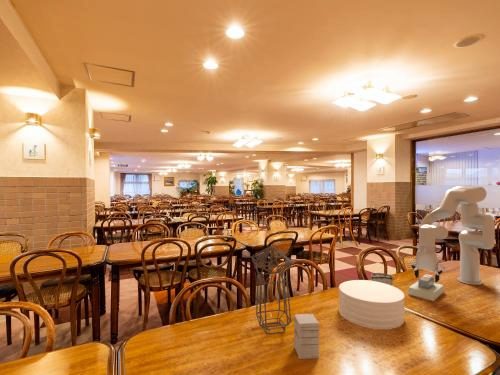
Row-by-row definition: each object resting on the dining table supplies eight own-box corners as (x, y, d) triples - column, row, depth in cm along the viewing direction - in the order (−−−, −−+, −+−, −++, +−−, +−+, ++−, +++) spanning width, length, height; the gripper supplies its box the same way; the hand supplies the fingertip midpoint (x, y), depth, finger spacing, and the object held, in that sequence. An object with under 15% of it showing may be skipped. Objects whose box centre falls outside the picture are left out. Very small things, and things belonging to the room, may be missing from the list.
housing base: (418, 287, 159) (418, 279, 159) (424, 282, 165) (424, 275, 165) (428, 289, 155) (428, 282, 155) (434, 285, 162) (434, 278, 162)
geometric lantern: (296, 336, 115) (295, 249, 114) (258, 341, 113) (256, 252, 111) (285, 317, 131) (284, 241, 129) (251, 321, 128) (249, 243, 127)
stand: (419, 286, 171) (419, 279, 171) (443, 292, 162) (443, 285, 162) (408, 294, 159) (408, 287, 159) (433, 301, 150) (433, 293, 150)
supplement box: (293, 347, 108) (293, 313, 107) (313, 346, 108) (313, 313, 108) (298, 359, 100) (298, 323, 100) (319, 358, 101) (319, 322, 101)
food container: (389, 290, 165) (389, 272, 164) (393, 294, 158) (394, 276, 158) (367, 289, 166) (367, 272, 166) (370, 293, 160) (370, 275, 159)
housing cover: (420, 280, 158) (420, 277, 158) (425, 276, 164) (425, 273, 164) (428, 281, 156) (428, 279, 156) (432, 278, 162) (432, 275, 162)
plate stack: (411, 313, 136) (412, 289, 135) (392, 337, 115) (392, 308, 115) (353, 297, 155) (353, 276, 155) (328, 314, 134) (328, 290, 134)
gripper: (407, 247, 164) (407, 277, 164) (443, 252, 151) (442, 285, 151) (412, 245, 169) (412, 274, 169) (447, 250, 156) (446, 281, 156)
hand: (426, 279), depth 160 cm, fingers open, 9 cm apart
